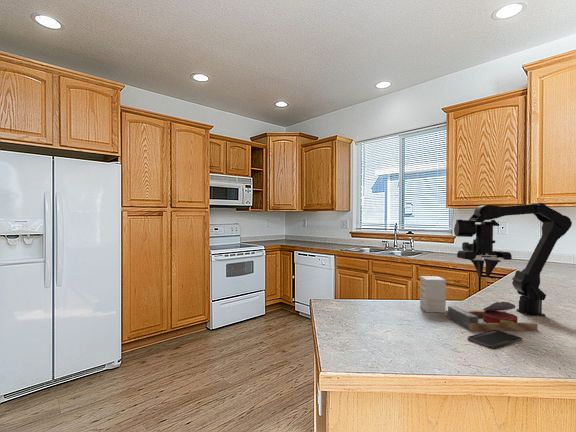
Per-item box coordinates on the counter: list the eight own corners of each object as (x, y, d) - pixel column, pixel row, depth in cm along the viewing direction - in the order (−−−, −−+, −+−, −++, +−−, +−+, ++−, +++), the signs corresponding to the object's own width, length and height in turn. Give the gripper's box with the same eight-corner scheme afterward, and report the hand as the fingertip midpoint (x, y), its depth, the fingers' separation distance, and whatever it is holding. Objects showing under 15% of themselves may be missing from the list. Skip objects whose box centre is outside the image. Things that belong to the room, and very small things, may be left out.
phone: (466, 337, 93) (496, 329, 100) (466, 340, 93) (496, 332, 100) (493, 347, 86) (524, 338, 93) (493, 351, 86) (524, 342, 93)
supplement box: (438, 307, 126) (439, 276, 126) (446, 313, 119) (446, 279, 119) (419, 306, 127) (419, 275, 127) (425, 312, 119) (426, 279, 119)
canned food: (487, 337, 107) (471, 309, 110) (493, 327, 115) (478, 301, 117) (524, 330, 100) (506, 300, 103) (528, 319, 107) (511, 292, 110)
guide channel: (502, 315, 117) (502, 310, 117) (537, 330, 102) (537, 324, 102) (445, 315, 115) (445, 310, 115) (472, 330, 100) (472, 324, 100)
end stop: (455, 317, 114) (456, 306, 114) (477, 329, 102) (478, 316, 102) (447, 317, 114) (448, 306, 114) (469, 329, 102) (469, 316, 102)
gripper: (492, 236, 132) (491, 273, 132) (449, 235, 130) (448, 273, 130) (513, 238, 121) (512, 278, 121) (466, 237, 119) (465, 278, 119)
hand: (483, 277), depth 123 cm, fingers open, 3 cm apart
